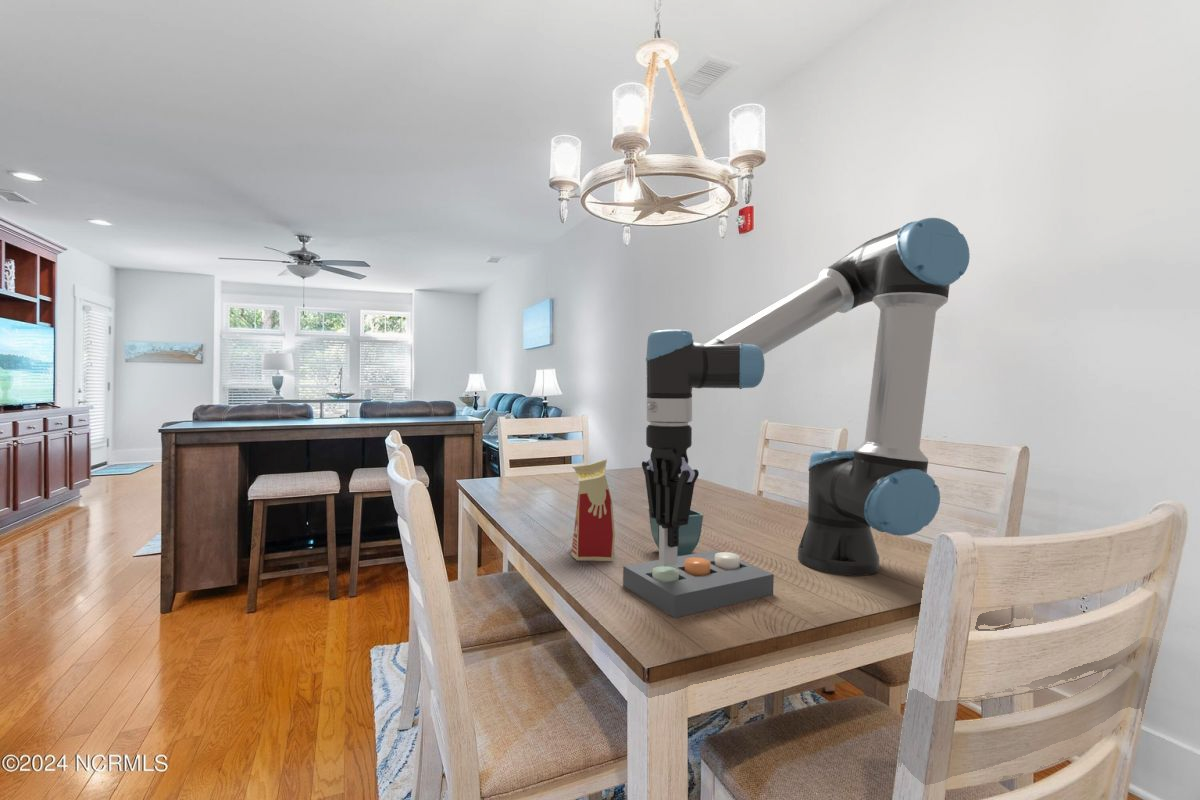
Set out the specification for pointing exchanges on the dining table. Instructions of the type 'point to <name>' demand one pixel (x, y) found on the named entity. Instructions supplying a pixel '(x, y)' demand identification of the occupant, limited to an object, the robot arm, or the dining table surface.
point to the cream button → (727, 560)
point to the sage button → (665, 574)
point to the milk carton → (593, 515)
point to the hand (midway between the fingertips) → (668, 563)
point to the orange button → (697, 566)
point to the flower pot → (683, 533)
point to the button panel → (698, 585)
